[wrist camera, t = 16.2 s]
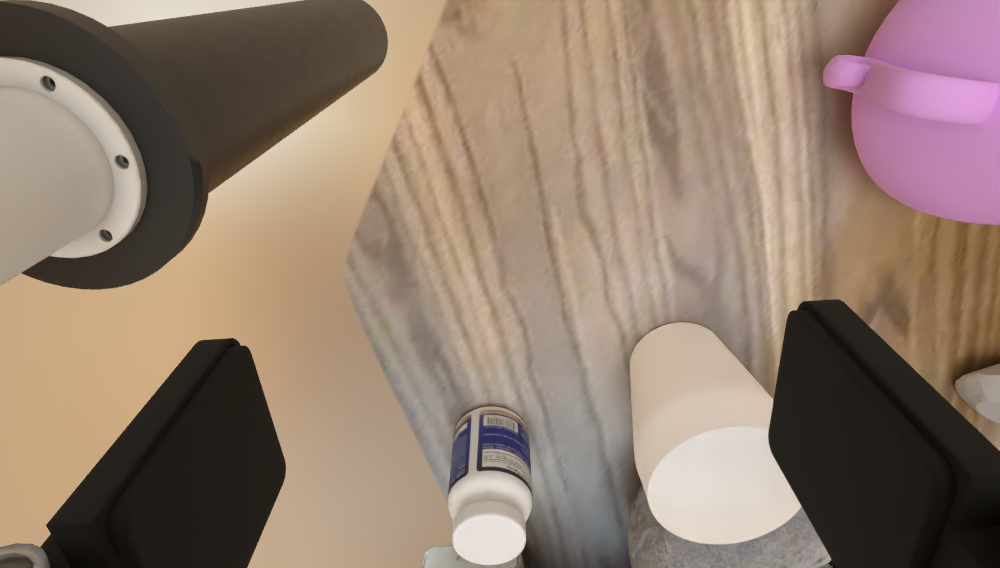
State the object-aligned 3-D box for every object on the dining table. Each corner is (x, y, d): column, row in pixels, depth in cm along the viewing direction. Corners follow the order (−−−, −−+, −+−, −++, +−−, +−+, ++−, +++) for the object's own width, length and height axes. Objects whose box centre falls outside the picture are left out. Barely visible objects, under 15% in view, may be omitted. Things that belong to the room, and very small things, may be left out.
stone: (661, 657, 35) (598, 482, 38) (645, 601, 50) (601, 479, 53) (912, 576, 34) (825, 404, 37) (819, 544, 49) (762, 424, 52)
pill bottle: (477, 469, 48) (471, 582, 39) (441, 420, 46) (424, 528, 37) (542, 444, 47) (549, 554, 38) (507, 392, 45) (507, 497, 36)
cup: (592, 336, 42) (618, 460, 32) (717, 285, 40) (790, 399, 30) (639, 426, 46) (677, 564, 35) (756, 384, 44) (834, 516, 33)
